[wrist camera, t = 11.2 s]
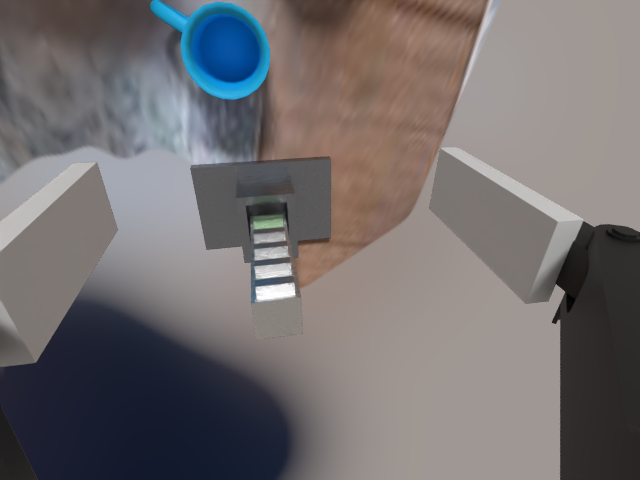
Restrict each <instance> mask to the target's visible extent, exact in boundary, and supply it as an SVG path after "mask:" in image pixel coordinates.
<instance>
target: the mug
mask: <svg viewBox="0 0 640 480" xmlns="http://www.w3.org/2000/svg"><path fill="white" fill-rule="evenodd" d="M150 9H151V11H152V13H153V14H155V15H156V16H157V17H158V18H160V19H161V20H163V21H164V22H166V23H167V24H169V25H170V26H172V27H173V28H175V29H176V30H178V31H179V32H181V33H182V38H181V51H182V59H183V61H184V64H185V66H186V69H187V72H188V73H189V75H190V76H191V77H192V79H193V80H194V81H195V83H196V84H197V85H198V86H199V87H201V88H202V89H203V90H205V91H206V92H207V93H208V94H211V95H213V96H216V97H218V98H221V99H234V100H235V99H239V98H242V97H246V96H248V95H250V94H251V93H252V92H254V91H255V90H257V89H258V88H259V86H260V85H261V83H262V82H263V81H264V79H265V78H266V75H267V72H268V68H269V65H270V48H269V45H268V41H267V37H266V34H265V33H264V31H263V29H262V27H261V26H260V24H259V22H258V21H257V20H256V19H255V18H254V17H253V16H252V15H251V14H250V13H248V12H247V11H246V10H245V9H243V8H240V7H238V6H236V5H234V4H232V3H223V2H215V3H211V4H207V5H204V6H202V7H201V8H199V9H198V10H197V11H195V12H194V13H193V14H192V15H191V16H190V18H189V17H187V16H185V15H184V14H182V13H181V12H179V11H177V10H176V9H174V8H172V7H171V6H169V5H167V4H165V3H164V2H162V1H160V0H153V1H152V2H151V5H150Z"/></svg>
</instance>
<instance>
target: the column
mask: <svg viewBox="0 0 640 480" xmlns="http://www.w3.org/2000/svg"><path fill="white" fill-rule="evenodd" d="M250 224H251V305H252V312H253V319H254V327H255V334H256V340H259V339H267V338H274V337H281V336H289V335H297V334H303V325H302V303H301V294H300V289H299V284H298V279H297V274H296V269H295V264H294V259H293V254H292V249H291V244H290V239H289V233H288V228H287V223H286V218H285V213H281V214H269V215H257V216H250Z"/></svg>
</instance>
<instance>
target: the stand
mask: <svg viewBox="0 0 640 480" xmlns="http://www.w3.org/2000/svg"><path fill="white" fill-rule="evenodd" d="M190 169H191V174H192V179H193V184H194V189H195V194H196V199H197V204H198V209H199V214H200V219H201V224H202V229H203V234H204V239H205V244H206V249H207V250H209V249H219V248H230V247H240V246H242V247H243V254H244V261H245V263H249V262H251V224H250V216H257V215H269V214H281V213H285V218H286V223H287V228H288V233H289V239H290V244H291V249H292V254H293V258H298V241H302V240H313V239H323V238H331V159H330V157H329V156H328V157H313V158H297V159H282V160H266V161H251V162H235V163H220V164H204V165H192V166H191V168H190Z"/></svg>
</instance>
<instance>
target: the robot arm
mask: <svg viewBox="0 0 640 480" xmlns="http://www.w3.org/2000/svg"><path fill="white" fill-rule="evenodd" d="M429 209H430V210H431V211H432V212H433V213H434V214H435V215H436V216H437V217H438V218H439V219H440V220H441V221H442V222H443V223H444V224H445V225H446V226H447V227H448V228H449V229H450V230H452V232H454V234H455V235H456V236H458V238H459V239H461V240H462V241H463V242H464V243H465V244H466V245H467V246H468V247H469V248H470V249H471V250H472V251H473V252H474V253H475V254H476V255H477V256H478V257H479V258H480V259H481V260H482V261H483V262H484V263H485V264H486V265H487V266H488V267H489V268H490V269H491V270H492V271H493V272H494V273H495V274H496V275H497V276H498V277H499V278H500V279H501V280H502V281H503V282H504V283H505V284H506V285H507V286H508V287H509V288H510V289H511V290H512V291H513V292H514V293H515V294H516V295H517V296H518V297H519V298H520V299H521V300H522V301H524V303H525V304H529V303H538V302H546V301H549V298H550V296H551V294H552V292H553V290H554V287H555V285H556V284H557V285H558V286H559V287H560V288H562V289H563V290H564V291H565V294H564V296H563V299H562V301H561V303H560V305H559V308H558V310H557V312H556V314H555V317H554V318H553V321H552V323H554V324H556V323H557V321H558V320H560V324H561V328H560V329H561V330H560V341H561V342H560V352H561V353H560V366H561V367H560V369H561V370H560V375H561V376H560V382H561V383H560V384H561V385H560V386H561V387H560V480H640V232H638V231H636V230H634V229H632V228H629V227H625V226H617V225H610V224H607V225H599V226H596V227H593V226H591V225H589V224H588V223H586V222H584V221H583V219H582V218H580V217H578V216H576V215H575V214H573V213H571V212H570V211H568V210H566V209H564V208H563V207H561V206H559V205H557V204H556V203H554V202H552V201H550V200H548V199H547V198H545V197H543V196H541V195H540V194H538V193H536V192H534V191H533V190H531V189H529V188H527V187H526V186H524V185H522V184H520V183H519V182H517V181H515V180H513V179H512V178H510V177H508V176H506V175H505V174H503V173H501V172H499V171H498V170H496V169H494V168H492V167H490V166H489V165H487V164H485V163H484V162H482V161H480V160H478V159H476V158H475V157H473V156H471V155H469V154H468V153H466V152H464V151H462V150H461V149H459V148H457V147H456V148H455V147H454V148H440V151H439V157H438V162H437V168H436V173H435V178H434V184H433V189H432V195H431V200H430V206H429ZM117 230H118V229H117V225H116V222H115V219H114V216H113V212H112V209H111V206H110V203H109V200H108V197H107V193H106V190H105V187H104V184H103V180H102V177H101V174H100V170H99V167H98V164H97V162H87V163H73V164H71V165H70V166H69V167H68V168H67V169H65V170H64V171H63V172H62V173H61V174H59V175H58V176H57V177H55V178H54V179H53V180H52V181H50V182H49V183H48V184H47V185H45V186H44V187H43V188H42V189H41V190H39V191H38V192H37V193H35V194H34V195H33V196H32V197H30V198H29V199H28V200H27V201H25V202H24V203H23V204H22V205H20V206H19V207H18V208H17V209H16V210H14V211H13V212H12V213H11V214H9V215H8V216H7V217H6V218H4V219H3V220H2V221H1V222H0V367H4V366H13V365H21V364H29V363H36V361H37V360H38V358H39V356H40V355H41V353H42V352H43V350H44V348H45V347H46V345H47V344H48V342H49V340H50V339H51V337H52V336H53V334H54V332H55V331H56V329H57V328H58V326H59V324H60V323H61V321H62V319H63V318H64V316H65V315H66V313H67V311H68V309H69V308H70V306H71V305H72V303H73V302H74V300H75V298H76V297H77V295H78V294H79V292H80V290H81V289H82V287H83V285H84V284H85V282H86V281H87V279H88V277H89V276H90V274H91V273H92V271H93V269H94V268H95V266H96V264H97V263H98V261H99V259H100V258H101V256H102V255H103V253H104V251H105V250H106V248H107V247H108V245H109V243H110V242H111V240H112V239H113V237H114V235H115V234H116V232H117ZM0 480H37V477H36V475H35V473H34V471H33V469H32V468H31V466H30V464H29V461H28V459H27V458H26V456H25V454H24V452H23V449H22V448H21V446H20V444H19V442H18V440H17V438H16V436H15V434H14V432H13V430H12V428H11V426H10V424H9V422H8V420H7V418H6V416H5V414H4V412H3V410H2V408H1V406H0Z"/></svg>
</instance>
